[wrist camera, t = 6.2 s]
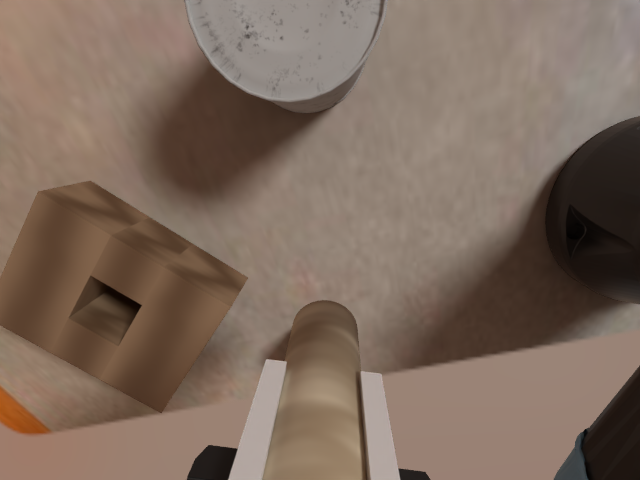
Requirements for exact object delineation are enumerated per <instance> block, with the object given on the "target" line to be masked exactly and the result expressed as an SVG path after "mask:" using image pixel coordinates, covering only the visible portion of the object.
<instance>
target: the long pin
mask: <svg viewBox="0 0 640 480" xmlns="http://www.w3.org/2000/svg"><path fill="white" fill-rule="evenodd" d="M284 361H286V362H287V364H286V373H285V378H284V382H283V387H282V391H281V396H280V400H279V405H278V410H277V414H276V419H275V423H274V428H273V433H272V437H271V442H270V446H269V451H268V456H267V460H266V465H265V469H264V474H263V478H262V480H367V471H366V459H365V446H364V434H363V422H362V410H361V398H360V386H359V378H360V372H361V364H360V352H359V341H358V330H357V324H356V320H355V318H354V316H353V315H352V313H351V312H350V311H349V310H348V309H347V308H346V307H344V306H343V305H341V304H339V303H336V302H333V301H327V300H322V301H315V302H312V303H310V304H308V305H306V306H305V307H303V308H302V309H301V310H300V311H299V312H298V313H297V315H296V317H295V319H294V322H293V326H292V330H291V334H290V339H289V343H288V347H287V351H286V355H285V359H284Z"/></svg>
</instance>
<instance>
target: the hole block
mask: <svg viewBox="0 0 640 480" xmlns="http://www.w3.org/2000/svg"><path fill="white" fill-rule="evenodd" d="M247 279H248V278H247V277H246V276H244V275H242V274H241V273H239V272H238V271H236V270H234V269H233V268H231V267H230V266H228V265H226V264H225V263H223V262H221V261H220V260H218V259H217V258H215V257H213V256H212V255H210V254H208V253H207V252H205V251H204V250H202V249H200V248H199V247H197V246H195V245H194V244H192V243H191V242H189V241H187V240H186V239H184V238H182V237H181V236H179V235H178V234H176V233H174V232H173V231H171V230H169V229H168V228H166V227H165V226H163V225H161V224H160V223H158V222H156V221H155V220H153V219H152V218H150V217H148V216H147V215H145V214H143V213H142V212H140V211H139V210H137V209H135V208H134V207H132V206H130V205H129V204H127V203H126V202H124V201H122V200H121V199H119V198H117V197H116V196H114V195H113V194H111V193H109V192H108V191H106V190H104V189H103V188H101V187H100V186H98V185H96V184H95V183H93V182H91V181H87V182H82V183H77V184H73V185H68V186H63V187H58V188H53V189H48V190H43V191H39V192H38V193H37V195H36V197H35V200H34V202H33V204H32V207H31V209H30V211H29V213H28V216H27V218H26V220H25V223H24V225H23V227H22V229H21V232H20V234H19V236H18V239H17V241H16V243H15V245H14V248H13V250H12V252H11V255H10V257H9V259H8V261H7V264H6V266H5V268H4V271H3V273H2V275H1V277H0V325H1V326H3V327H4V328H6V329H8V330H10V331H12V332H14V333H15V334H17V335H19V336H21V337H23V338H25V339H26V340H28V341H30V342H32V343H34V344H36V345H37V346H39V347H41V348H43V349H45V350H47V351H48V352H50V353H52V354H54V355H56V356H58V357H59V358H61V359H63V360H65V361H67V362H68V363H70V364H72V365H74V366H76V367H78V368H79V369H81V370H83V371H85V372H87V373H89V374H90V375H92V376H94V377H96V378H98V379H100V380H101V381H103V382H105V383H107V384H109V385H111V386H112V387H114V388H116V389H118V390H120V391H122V392H123V393H125V394H127V395H129V396H131V397H133V398H134V399H136V400H138V401H140V402H142V403H144V404H145V405H147V406H149V407H151V408H153V409H155V410H156V411H158V412H160V413H162V411H163V410H164V408H165V407H166V405H167V403H168V402H169V400H170V399H171V397H172V396H173V394H174V393H175V391H176V390H177V388H178V387H179V385H180V384H181V382H182V381H183V379H184V378H185V376H186V375H187V373H188V371H189V370H190V368H191V367H192V365H193V364H194V362H195V361H196V359H197V358H198V356H199V355H200V353H201V352H202V350H203V349H204V347H205V346H206V344H207V343H208V341H209V339H210V338H211V336H212V335H213V333H214V332H215V330H216V329H217V327H218V326H219V324H220V323H221V321H222V320H223V318H224V317H225V315H226V314H227V312H228V311H229V309H230V307H231V306H232V304H233V302H234V301H235V299H236V297H237V296H238V294H239V292H240V291H241V289H242V287H243V286H244V284H245V282H246V281H247ZM116 290H117V291H116ZM123 294H124V295H123ZM128 297H129V298H128ZM135 301H136V302H135ZM140 304H141V305H140Z"/></svg>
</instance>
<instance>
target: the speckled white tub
mask: <svg viewBox="0 0 640 480" xmlns="http://www.w3.org/2000/svg"><path fill="white" fill-rule="evenodd" d="M387 1H388V0H184V2H185V7H186V12H187V16H188V21H189V24H190V27H191V29H192V31H193V34H194V36H195V39H196V41H197V43H198V46H199V47H200V49H201V50H202V52H203V53H204V55H205V56H206V58H207V59H208V60H209V62H210V63H211V65H212V66H213V67H214V68H215V69H216V70H217V71H218V72H219V73H220V74H221V75H222V76H223V77H224V78H225V79H226V80H227V81H228V82H230V83H231V84H233V85H235V86H236V87H238V88H239V89H241V90H243V91H244V92H246V93H247V94H250V95H253V96H256V97H259V98H262V99H265V100H268V101H270V102H273V103H275V104H276V105H278V106H279V107H281V108H284V109H287V110H290V111H292V112H299V113H312V112H319V111H322V110H325V109H327V108H330V107H333V106H334V105H335V104H337V103H338V102H340V101H341V100H343V99H344V98H345V97H346V96H347V95H348V94H349V93H350V92H351V90H352V89H353V88H354V87H355V85H356V83H357V81H358V80H359V78H360V76H361V74H362V71H363V68H364V65H365V62H366V60H367V58H368V56H369V54H370V52H371V50H372V49H373V47H374V45H375V43H376V42H377V40H378V37H379V34H380V31H381V28H382V25H383V22H384V19H385V16H386V9H387Z"/></svg>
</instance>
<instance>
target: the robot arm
mask: <svg viewBox="0 0 640 480" xmlns="http://www.w3.org/2000/svg"><path fill="white" fill-rule="evenodd" d="M546 233H547V238H548V242H549V246H550V248H551V251H552V253H553V255H554V257H555V259H556V260H557V262H558V263H559V265H560V266H561V267H562V268H563V269H564V271H565V272H566V273H568V274H569V275H570V276H571V277H572V278H574V279H575V280H577V281H578V282H580V283H582V284H583V285H585V286H586V287H588V288H590V289H591V290H593V291H595V292H597V293H599V294H601V295H603V296H606V297H609V298H612V299H615V300H619V301H624V302H630V303H635V304H640V116H638V117H634V118H631V119H628V120H625V121H622V122H620V123H618V124H615V125H613V126H611V127H609V128H607V129H606V130H604V131H602V132H601V133H599V134H598V135H596V136H595V137H593V138H592V139H591V140H589V141H588V142H587V143H586V144H585V145H584V146H582V147H581V148H580V149H579V150H578V151H577V152H576V153H575V155H574V156H573V157H572V158H571V159H570V160H569V162H568V163H567V164H566V166H565V167H564V169H563V170H562V172H561V173H560V175H559V177H558V178H557V180H556V182H555V185H554V187H553V189H552V192H551V195H550V198H549V202H548V206H547V212H546ZM286 364H287V362H286V361H278V360H270V359H266V361H265V364H264V368H263V371H262V374H261V377H260V380H259V383H258V387H257V390H256V393H255V396H254V399H253V403H252V406H251V409H250V412H249V415H248V418H247V422H246V425H245V428H244V431H243V434H242V437H241V441H240V444H239V447H238V449H236V448H228V447H220V446H213V445H208V447H206V448H205V449H204V450H203V452H202V453H201V454H200V455H199V456H198V457H197V458H196V459H195V461H194V463H193V465H192V468H191V470H190V472H189V474H188V478H187V480H262V478H263V474H264V469H265V465H266V460H267V456H268V451H269V446H270V442H271V437H272V433H273V428H274V423H275V419H276V414H277V410H278V405H279V400H280V396H281V391H282V387H283V382H284V378H285V373H286ZM359 386H360V398H361V410H362V422H363V434H364V446H365V459H366V471H367V480H430V478H429V477H428V475H427V474H426V472H421V471H414V470H406V469H398V464H397V459H396V453H395V447H394V442H393V436H392V431H391V425H390V419H389V414H388V409H387V403H386V397H385V391H384V386H383V380H382V375H381V374H380V373H372V372H364V371H361V372H360V378H359ZM554 480H640V366H639V367H638V368H637V370H636V371H635V372H634V373H633V375H632V376H631V377H630V378H629V379H628V381H627V382H626V383H625V385H624V386H623V387H622V388H621V389H620V391H619V392H618V393H617V394H616V396H615V397H614V398H613V399H612V400H611V402H610V403H609V404H608V405H607V407H606V408H605V409H604V410H603V412H602V413H601V414H600V415H599V417H598V418H597V419H596V420H595V421H594V423H593V424H592V425H591V426H590V428H587V429H585V430H584V431H583V432H582V433H580V434H579V435H578V436H577V439H576V441H575V447H574V449H573V450H572V452H571V453H570V455H569V456H568V458H567V459H566V461H565V462H564V463H563V465H562V466H561V467H560V469H559V470H558V472H557V474H556V476H555V478H554Z"/></svg>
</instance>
